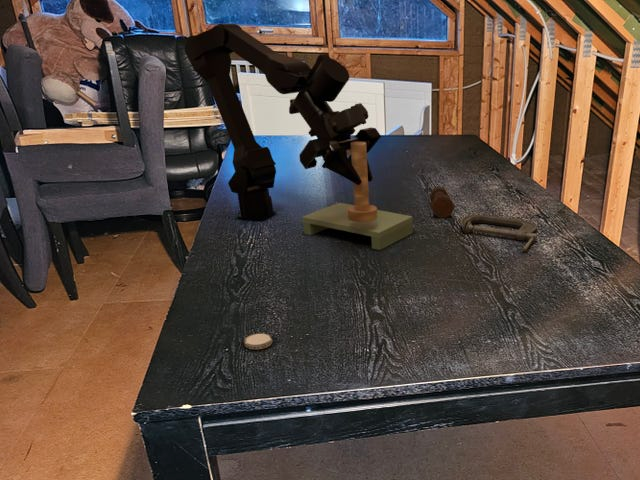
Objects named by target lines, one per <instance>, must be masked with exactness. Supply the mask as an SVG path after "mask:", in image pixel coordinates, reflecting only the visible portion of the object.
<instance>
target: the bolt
mask: <svg viewBox="0 0 640 480" xmlns="http://www.w3.org/2000/svg"><path fill="white" fill-rule="evenodd" d="M428 197H429V199H430V201H431V203H430V209H431V211H432V212H433V214H434V216H435V217H436V218H437V219H438V218H439V219H440V218H441V219H442V218H443V219H445V218H450V216H452V213H453V211H454V210H455V208H456V207H455V204H454V202H453V200H452V199H451V197H450V195H449V193H448V192H447V190H446V188H445V186H435V187H433V188H432V190H431V192H430V194H429V196H428Z"/></svg>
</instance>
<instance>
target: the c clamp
mask: <svg viewBox="0 0 640 480" xmlns="http://www.w3.org/2000/svg"><path fill="white" fill-rule="evenodd" d="M472 224H488V225H495V226H501V227H509V228H516V229H517V230H509V229H501V228H494V227H487V226H481V225H480V226H479V225H472ZM459 225H460V227H461V231H462V233H464V234H469V233H472V232H474V233H481V234H487V235H494V236H503V237H508V238H514V239H515V240H516V241H523V242H525V241H526V240H528V241H527V243H526V244H525V246H524V247H523V248H522V251H523V252H527V251H528V249H529V247H530V246H531V244H532V243H533V241H534V242H535V241H537V239H538V234H537V233H535V232H536V231H537V229H538V226H537V225H536V223H533V222H531V221H528V220H524V219H523V220H522V219H515V218H510V217H509V218H508V217H501V216H494V215H488V214H469V215H466V216H464V217H463V218H461V220H460V222H459Z"/></svg>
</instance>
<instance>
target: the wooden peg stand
mask: <svg viewBox="0 0 640 480" xmlns="http://www.w3.org/2000/svg"><path fill="white" fill-rule="evenodd" d="M351 158H352V166H353V167H354V169H355V170H356V172H357V173H358V175H359V177H360V179H361V181H362V183H361V184H360V185H357V184H355V183H353V182H352V187H353V199H354V200H353V203H354V204H351V205H352V206H349V207H348V208H347V211H348V219H349V220H351V221H355V222H369V221H373V220H376V219H377V210H378V208H377V206H375V205H373V204H370V192H369V191H370V190H369V181H368V169H367V160H368V153H367V151H366V142H361V141H356V142H351Z"/></svg>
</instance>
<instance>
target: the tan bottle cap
mask: <svg viewBox="0 0 640 480" xmlns="http://www.w3.org/2000/svg"><path fill="white" fill-rule="evenodd" d="M243 341H244V342H243V343H244V346H245V348H247V349H249V350H262V349H266V348H268V347H270V346H271V345H273V337H272V336H271V335H270V334H268V333H255V334H250V335H249V336H246V338H245V339H244V340H243Z"/></svg>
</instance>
